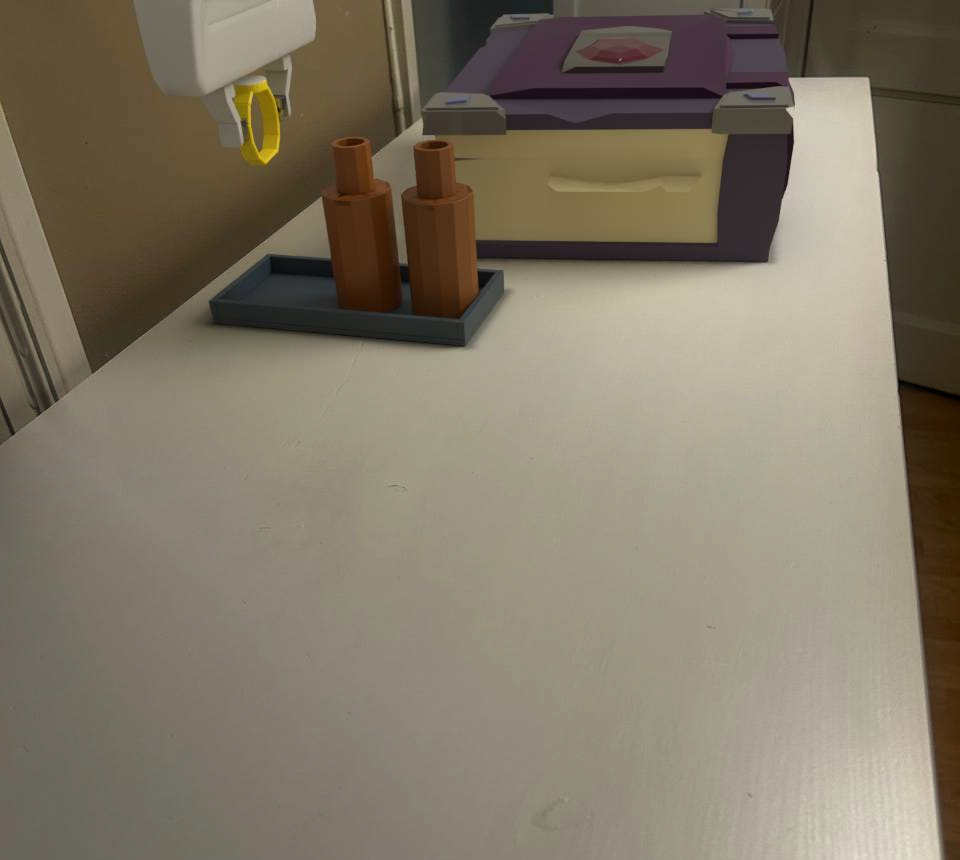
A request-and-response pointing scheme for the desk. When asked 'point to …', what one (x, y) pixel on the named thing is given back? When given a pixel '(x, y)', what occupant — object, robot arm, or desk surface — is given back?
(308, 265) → the tray
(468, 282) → the bottle far
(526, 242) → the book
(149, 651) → the desk surface
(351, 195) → the bottle mid
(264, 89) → the watch
